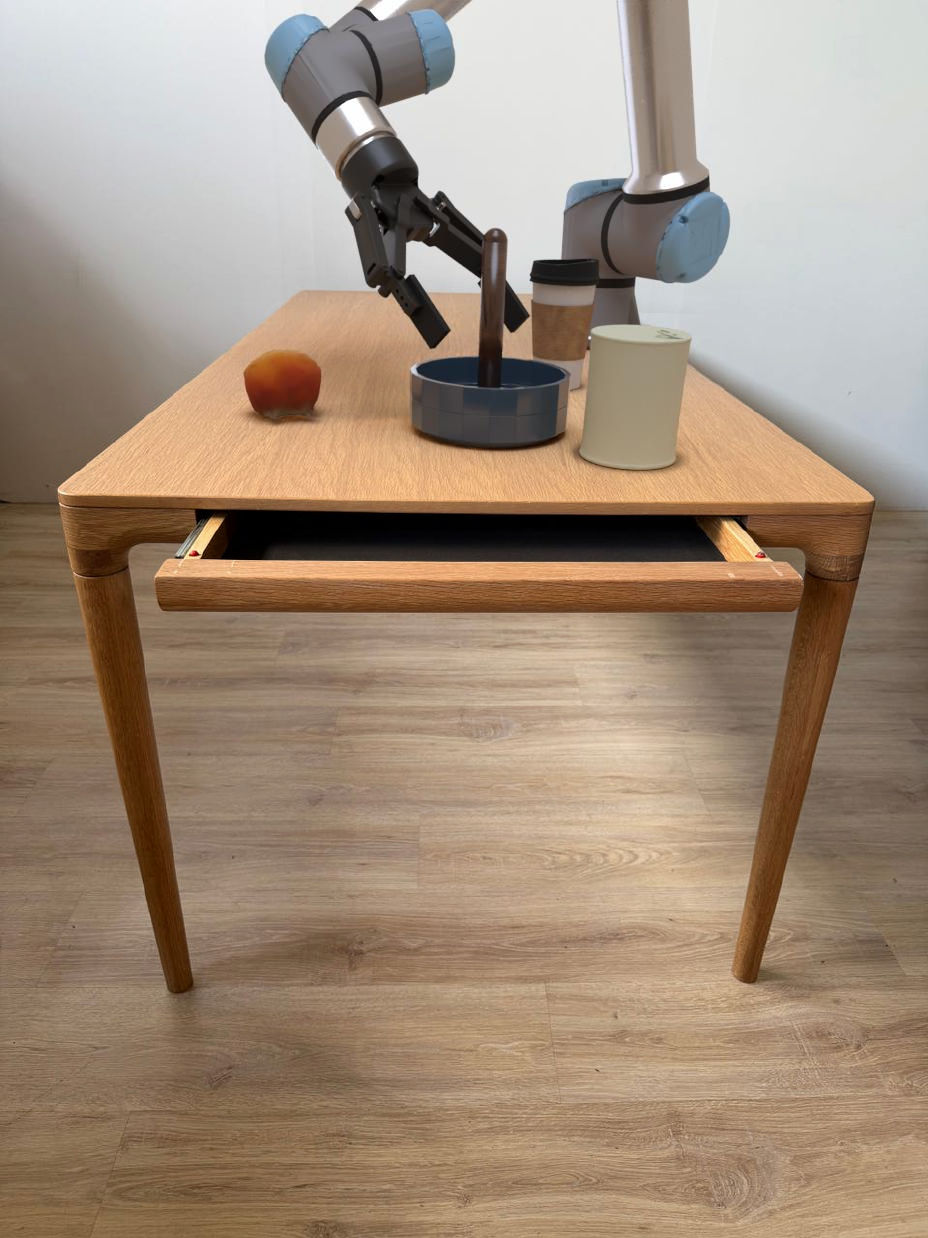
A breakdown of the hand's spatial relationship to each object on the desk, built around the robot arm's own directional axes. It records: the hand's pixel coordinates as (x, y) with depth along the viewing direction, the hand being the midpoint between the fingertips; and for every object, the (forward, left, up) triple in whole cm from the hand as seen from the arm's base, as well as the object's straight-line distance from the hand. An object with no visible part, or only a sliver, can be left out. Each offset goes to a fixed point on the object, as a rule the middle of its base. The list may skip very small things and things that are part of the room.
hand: (482, 332), depth 92 cm
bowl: (-1, +1, -10) cm, 10 cm away
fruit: (+20, -5, -10) cm, 23 cm away
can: (-13, +11, -10) cm, 20 cm away
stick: (-1, +1, -9) cm, 9 cm away
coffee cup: (-13, -20, -10) cm, 26 cm away
